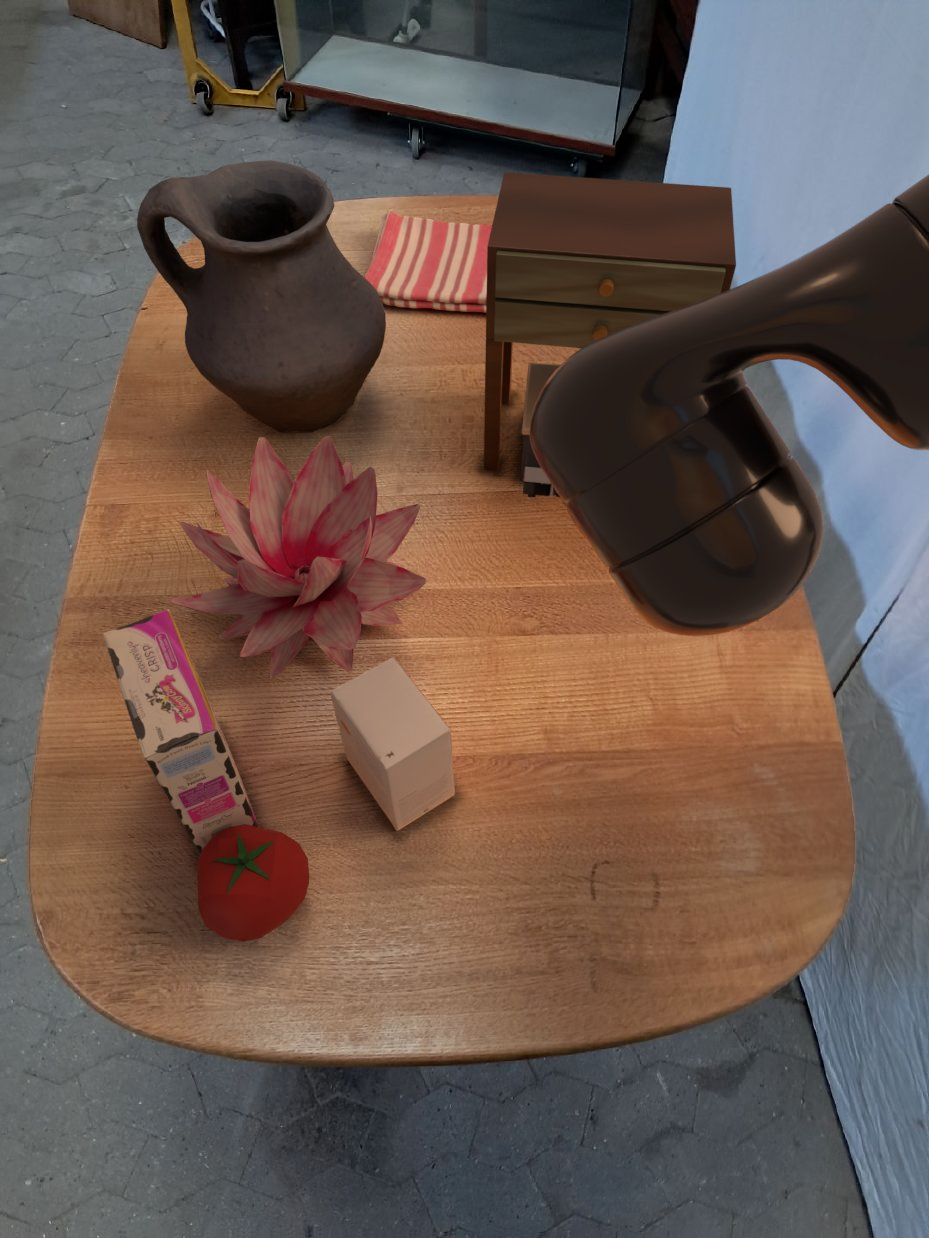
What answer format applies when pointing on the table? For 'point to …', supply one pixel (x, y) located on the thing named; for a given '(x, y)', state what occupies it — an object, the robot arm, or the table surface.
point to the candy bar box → (178, 727)
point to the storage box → (533, 400)
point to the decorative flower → (304, 557)
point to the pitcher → (267, 291)
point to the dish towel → (430, 264)
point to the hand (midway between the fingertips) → (616, 484)
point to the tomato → (250, 881)
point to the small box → (395, 742)
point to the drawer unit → (594, 265)
